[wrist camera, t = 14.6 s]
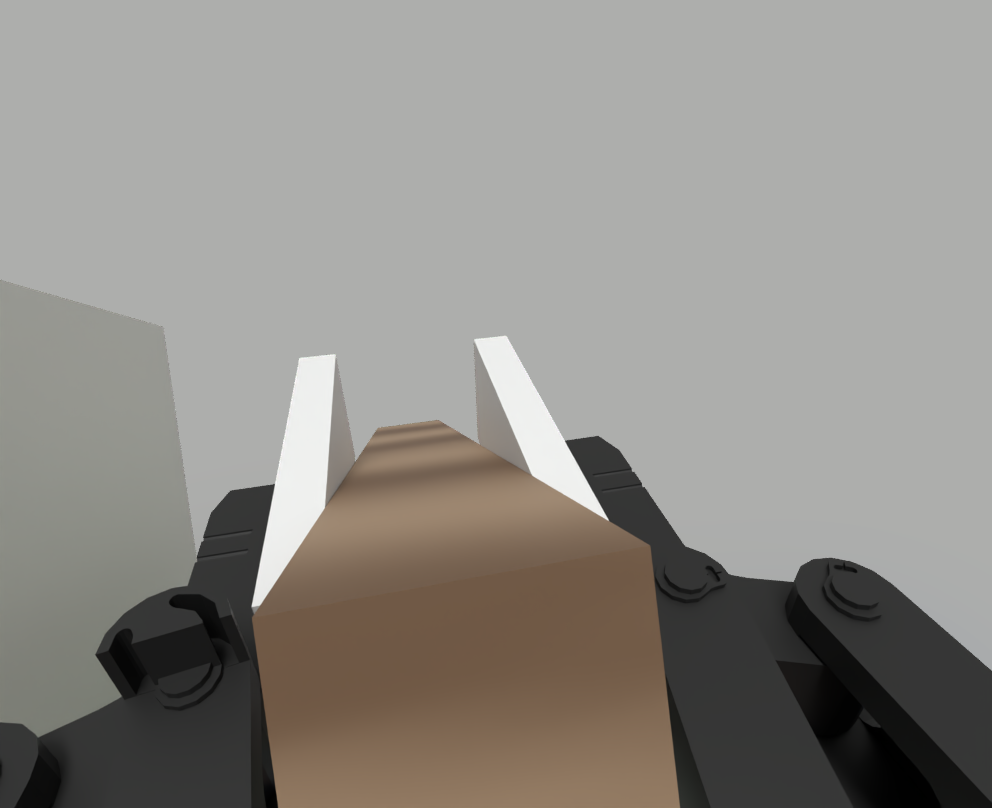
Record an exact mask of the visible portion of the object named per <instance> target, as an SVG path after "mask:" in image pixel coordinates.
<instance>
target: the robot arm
mask: <svg viewBox="0 0 992 808" xmlns="http://www.w3.org/2000/svg"><path fill="white" fill-rule="evenodd" d="M474 357H475V380H476V403H477V427H478V439H479V443H480V445H481V446H483V447H485V448H486V449H488V450H490V451H491V452H493V453H495V454H496V455H498V456H500V457H501V458H503V459H505V460H507V461H508V462H510V463H512V464H513V465H515V466H517V467H518V468H520V469H522V470H523V471H525V472H527V473H529V474H530V475H532V476H534V477H535V478H537V479H539V480H540V481H542V482H544V483H545V484H547V485H549V486H550V487H552V488H554V489H556V490H557V491H559V492H561V493H562V494H564V495H566V496H567V497H569V498H571V499H572V500H574V501H576V502H578V503H579V504H581V505H583V506H584V507H586V508H588V509H589V510H591V511H593V512H594V513H596V514H598V515H600V516H601V517H603V518H605V519H606V520H608V521H610V522H611V523H613V524H615V525H616V526H618V527H620V528H621V529H623V530H625V531H627V532H628V533H630V534H632V535H633V536H635V537H637V538H638V539H640V540H642V541H643V542H645V543H647V544H649V545H650V548H651V556H652V565H653V574H654V583H655V592H656V600H657V609H658V618H659V627H660V635H661V644H662V653H663V662H664V671H665V679H666V688H667V697H668V706H669V715H670V723H671V732H672V741H673V750H674V759H675V767H676V776H677V785H678V794H679V803H680V808H992V671H991V670H990V669H989V668H988V667H987V666H985V665H984V664H983V663H982V662H981V661H980V660H979V659H977V658H976V657H975V656H974V655H973V654H972V653H971V652H969V651H968V650H967V649H966V648H965V647H964V646H962V645H961V644H960V643H959V642H958V641H957V640H956V639H954V638H953V637H952V636H951V635H950V634H949V633H948V632H946V631H945V630H944V629H943V628H942V627H941V626H940V625H938V624H937V623H936V622H935V621H934V620H933V619H932V618H930V617H929V616H928V615H927V614H926V613H924V612H923V611H922V610H921V609H920V608H919V607H918V606H917V605H915V604H914V603H913V602H912V601H911V600H910V599H908V598H907V597H906V596H905V595H904V594H903V593H902V592H900V591H899V590H898V589H897V588H896V587H894V585H892V584H891V583H890V582H888V581H887V580H885V579H884V578H882V577H881V576H880V575H878V574H877V573H875V572H874V571H872V570H870V569H868V568H865V567H863V566H860V565H858V564H856V563H853V562H850V561H845V560H840V559H835V558H823V559H813V560H811V561H809V562H807V563H806V564H804V565H802V566H801V567H800V569H799V571H798V573H797V576H796V578H795V580H794V582H785V581H774V580H764V579H753V578H745V577H739V576H733V575H730V574H728V573H727V572H726V570H725V569H724V568H723V567H722V565H721V564H719V563H718V562H716V561H715V560H713V559H712V558H711V557H709V556H708V555H706V554H705V553H702V552H699V551H696V550H694V549H691V548H688V547H685V545H684V544H683V543H682V541H681V540H680V539H679V537H678V536H677V534H676V533H675V531H674V530H673V528H672V527H671V525H670V524H669V522H668V521H667V519H666V518H665V517H664V515H663V514H662V512H661V511H660V509H659V508H658V506H657V505H656V503H655V502H654V500H653V499H652V498H651V496H650V495H649V493H648V492H647V490H646V489H645V487H642V483H641V482H640V480H639V478H638V477H637V476H636V474H635V473H634V472H632V469H631V467H630V465H629V464H628V462H627V461H626V459H625V458H624V457H623V455H622V454H621V452H620V451H619V450H618V449H617V448H615V447H614V446H612V445H611V444H609V443H608V442H606V441H605V440H603V439H602V438H600V437H599V436H595V437H588V438H581V439H574V440H567V441H564V439H563V437H562V435H561V434H560V432H559V430H558V428H557V426H556V425H555V423H554V421H553V419H552V418H551V416H550V414H549V412H548V410H547V409H546V407H545V405H544V403H543V401H542V399H541V398H540V396H539V394H538V392H537V390H536V388H535V387H534V385H533V383H532V381H531V380H530V378H529V376H528V374H527V372H526V370H525V369H524V367H523V365H522V363H521V361H520V360H519V358H518V356H517V354H516V353H515V351H514V349H513V347H512V345H511V344H510V342H509V340H508V338H507V336H501V337H491V338H482V339H474ZM354 463H355V454H354V449H353V443H352V438H351V433H350V427H349V422H348V417H347V412H346V406H345V402H344V396H343V391H342V385H341V380H340V375H339V369H338V364H337V360H336V354H333V355H324V356H315V357H305V358H300V359H299V363H298V369H297V374H296V379H295V384H294V389H293V395H292V400H291V405H290V410H289V416H288V421H287V426H286V431H285V436H284V441H283V447H282V452H281V457H280V462H279V467H278V472H277V478H276V483H275V484H273V485H266V486H260V487H253V488H246V489H239V490H232V491H230V492H229V493H228V494H227V495H226V496H225V498H224V499H223V500H222V501H221V502H220V503H219V504H218V506H217V507H216V508H215V509H214V510H213V511H212V512H211V515H210V518H209V521H208V524H207V527H206V530H205V533H204V537H203V538H204V541H203V542H201V546H200V549H199V552H198V555H197V562H195V564H194V567H193V570H192V573H191V576H190V579H189V583H188V586H182V587H175V588H171V589H168V590H166V591H163V592H161V593H158V594H156V595H153V596H151V597H148V598H146V599H145V600H143V601H142V602H140V603H139V604H137V605H136V606H134V607H133V608H131V609H130V610H128V611H127V612H126V613H124V614H123V615H122V616H121V617H120V618H119V619H118V620H117V622H116V623H115V624H114V625H113V626H112V627H111V628H110V629H109V630H108V631H107V632H106V633H105V635H104V637H103V639H102V641H101V643H100V646H99V648H98V650H97V652H96V654H95V655H96V657H97V659H98V660H99V662H100V663H101V665H102V666H103V668H104V669H105V671H106V672H107V674H108V676H109V677H110V679H111V680H112V682H113V683H114V685H115V686H116V688H117V689H118V691H119V692H120V694H121V697H120V698H119V699H117V700H115V701H113V702H111V703H110V704H108V705H106V706H104V707H102V708H100V709H99V710H96V711H94V712H92V713H90V714H88V715H86V716H83V717H81V718H79V719H77V720H75V721H73V722H70V723H68V724H66V725H64V726H62V727H60V728H57V729H55V730H53V731H51V732H49V733H47V734H44V735H42V736H40V737H37V736H36V734H34V733H33V732H32V731H31V730H29V729H28V728H27V727H25V726H24V725H23V724H19V723H3V722H0V808H278V801H277V794H276V787H275V780H274V773H273V765H272V758H271V751H270V744H269V737H268V729H267V722H266V715H265V708H264V701H263V694H262V686H261V679H260V672H259V665H258V658H257V651H256V643H255V636H254V629H253V622H252V617H253V615H254V614H255V612H256V611H257V609H258V608H259V606H260V605H261V603H262V602H263V600H264V599H265V597H266V596H267V594H268V593H269V591H270V590H271V588H272V587H273V585H274V584H275V582H276V581H277V579H278V578H279V576H280V575H281V573H282V572H283V570H284V569H285V567H286V566H287V564H288V563H289V561H290V560H291V558H292V557H293V555H294V554H295V552H296V551H297V549H298V548H299V546H300V545H301V543H302V542H303V540H304V539H305V537H306V536H307V534H308V533H309V531H310V530H311V528H312V527H313V525H314V524H315V522H316V521H317V519H318V518H319V516H320V515H321V513H322V512H323V510H324V509H325V507H326V506H327V504H328V502H329V501H330V499H331V498H332V496H333V495H334V493H335V492H336V490H337V489H338V487H339V486H340V484H341V483H342V481H343V480H344V478H345V477H346V475H347V474H348V472H349V471H350V469H351V468H352V466H353V465H354Z"/></svg>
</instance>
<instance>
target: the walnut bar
mask: <svg viewBox="0 0 992 808" xmlns="http://www.w3.org/2000/svg"><path fill="white" fill-rule="evenodd" d="M252 622H253V629H254V636H255V643H256V651H257V658H258V665H259V672H260V679H261V686H262V694H263V701H264V708H265V715H266V722H267V729H268V737H269V744H270V751H271V758H272V765H273V773H274V780H275V787H276V794H277V801H278V808H680V803H679V794H678V785H677V776H676V767H675V759H674V750H673V741H672V732H671V723H670V715H669V706H668V697H667V688H666V679H665V671H664V662H663V653H662V644H661V635H660V627H659V618H658V609H657V600H656V592H655V583H654V574H653V565H652V556H651V548H650V545H649V544H647V543H645V542H643V541H642V540H640V539H638V538H637V537H635V536H633V535H632V534H630V533H628V532H627V531H625V530H623V529H621V528H620V527H618V526H616V525H615V524H613V523H611V522H610V521H608V520H606V519H605V518H603V517H601V516H600V515H598V514H596V513H594V512H593V511H591V510H589V509H588V508H586V507H584V506H583V505H581V504H579V503H578V502H576V501H574V500H572V499H571V498H569V497H567V496H566V495H564V494H562V493H561V492H559V491H557V490H556V489H554V488H552V487H550V486H549V485H547V484H545V483H544V482H542V481H540V480H539V479H537V478H535V477H534V476H532V475H530V474H529V473H527V472H525V471H523V470H522V469H520V468H518V467H517V466H515V465H513V464H512V463H510V462H508V461H507V460H505V459H503V458H501V457H500V456H498V455H496V454H495V453H493V452H491V451H490V450H488V449H486V448H485V447H483V446H481V445H479V444H478V443H476V442H474V441H472V440H471V439H469V438H467V437H466V436H464V435H462V434H461V433H459V432H458V431H456V430H454V429H452V428H451V427H449V426H447V425H446V424H444V423H442V422H441V421H439V420H435V421H428V422H420V423H412V424H404V425H397V426H389V427H381V428H378V429H377V430H376V432H375V433H374V435H373V436H372V438H371V439H370V441H369V442H368V444H367V445H366V447H365V448H364V450H363V452H362V453H361V454H360V456H359V458H358V459H357V460H356V462H355V463H354V465H353V466H352V468H351V469H350V471H349V472H348V474H347V475H346V477H345V478H344V480H343V481H342V483H341V484H340V486H339V487H338V489H337V490H336V492H335V493H334V495H333V496H332V498H331V499H330V501H329V502H328V504H327V506H326V507H325V509H324V510H323V512H322V513H321V515H320V516H319V518H318V519H317V521H316V522H315V524H314V525H313V527H312V528H311V530H310V531H309V533H308V534H307V536H306V537H305V539H304V540H303V542H302V543H301V545H300V546H299V548H298V549H297V551H296V552H295V554H294V555H293V557H292V558H291V560H290V561H289V563H288V564H287V566H286V567H285V569H284V570H283V572H282V573H281V575H280V576H279V578H278V579H277V581H276V582H275V584H274V585H273V587H272V588H271V590H270V591H269V593H268V594H267V596H266V597H265V599H264V600H263V602H262V603H261V605H260V606H259V608H258V609H257V611H256V612H255V614H254V615H253V617H252Z"/></svg>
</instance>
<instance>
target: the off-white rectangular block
mask: <svg viewBox="0 0 992 808" xmlns="http://www.w3.org/2000/svg"><path fill="white" fill-rule="evenodd" d="M195 562H197V557H196V550H195V543H194V537H193V530H192V523H191V516H190V509H189V502H188V495H187V488H186V482H185V474H184V467H183V460H182V454H181V446H180V440H179V432H178V425H177V418H176V412H175V405H174V399H173V391H172V384H171V377H170V370H169V363H168V356H167V349H166V342H165V335H164V328H163V327H162V326H158V325H155V324H151V323H147V322H145V321H141V320H138V319H134V318H131V317H127V316H123V315H120V314H117V313H113V312H110V311H106V310H103V309H99V308H96V307H93V306H89V305H85V304H82V303H79V302H75V301H72V300H68V299H65V298H61V297H58V296H54V295H51V294H47V293H44V292H41V291H37V290H33V289H30V288H27V287H23V286H19V285H16V284H13V283H9V282H6V281H2V280H0V722H3V723H19V724H23V725H24V726H25V727H27V728H28V729H29V730H31V731H32V732H33V733H34V734H36V736H37V737H40V736H42V735H44V734H47V733H49V732H51V731H53V730H55V729H57V728H60V727H62V726H64V725H66V724H68V723H70V722H73V721H75V720H77V719H79V718H81V717H83V716H86V715H88V714H90V713H92V712H94V711H96V710H99V709H100V708H102V707H104V706H106V705H108V704H110V703H111V702H113V701H115V700H117V699H119V698H120V697H121V694H120V692H119V691H118V689H117V688H116V686H115V685H114V683H113V682H112V680H111V679H110V677H109V676H108V674H107V672H106V671H105V669H104V668H103V666H102V665H101V663H100V662H99V660H98V659H97V657H96V655H95V654H96V652H97V650H98V648H99V646H100V643H101V641H102V639H103V637H104V635H105V633H106V632H107V631H108V630H109V629H110V628H111V627H112V626H113V625H114V624H115V623H116V622H117V620H118V619H119V618H120V617H121V616H122V615H123V614H124V613H126V612H127V611H128V610H130V609H131V608H133V607H134V606H136V605H137V604H139V603H140V602H142V601H143V600H145V599H146V598H148V597H151V596H153V595H156V594H158V593H161V592H163V591H166V590H168V589H171V588H175V587H182V586H188V583H189V579H190V576H191V573H192V570H193V567H194V564H195Z"/></svg>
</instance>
